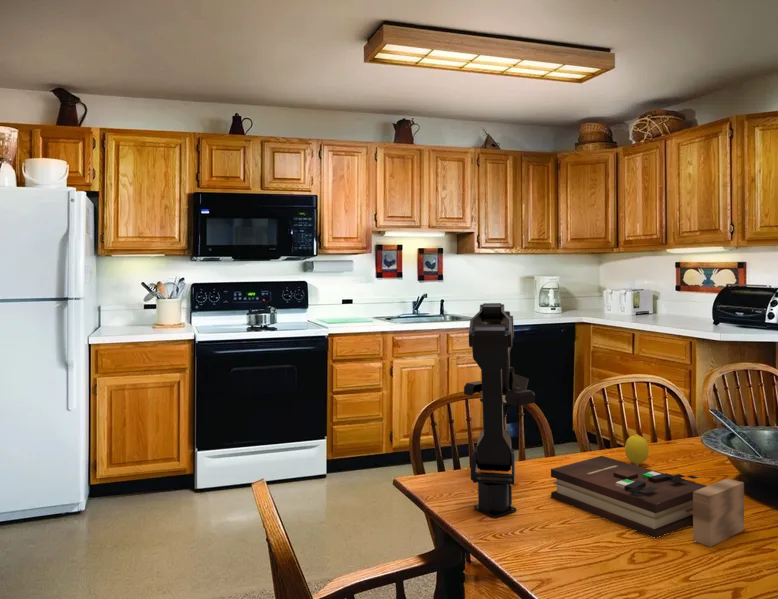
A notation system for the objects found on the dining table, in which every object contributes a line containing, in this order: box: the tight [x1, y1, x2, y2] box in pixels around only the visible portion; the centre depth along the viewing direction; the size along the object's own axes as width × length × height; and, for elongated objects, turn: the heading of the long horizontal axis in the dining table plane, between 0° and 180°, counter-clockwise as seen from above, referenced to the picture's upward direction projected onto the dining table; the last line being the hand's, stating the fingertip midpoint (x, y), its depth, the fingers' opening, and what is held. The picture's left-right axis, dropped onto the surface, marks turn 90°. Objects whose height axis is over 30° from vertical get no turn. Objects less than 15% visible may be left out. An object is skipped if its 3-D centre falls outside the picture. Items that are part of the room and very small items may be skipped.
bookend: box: [692, 477, 745, 548], centre depth 111 cm, size 12×3×9 cm, turn 124°
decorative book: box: [550, 455, 707, 539], centre depth 125 cm, size 19×8×30 cm
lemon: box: [624, 433, 650, 466], centre depth 153 cm, size 6×6×8 cm
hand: (498, 428), depth 145 cm, fingers closed
